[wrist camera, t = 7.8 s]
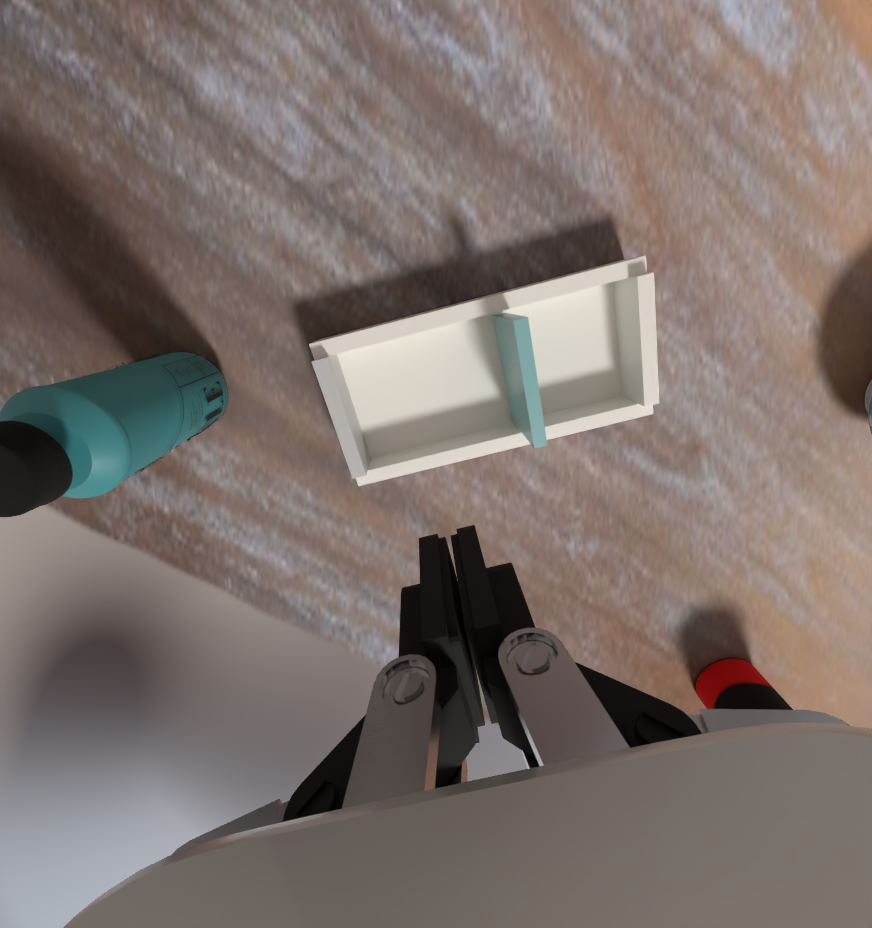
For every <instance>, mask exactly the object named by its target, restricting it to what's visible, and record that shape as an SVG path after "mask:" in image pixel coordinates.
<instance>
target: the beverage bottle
mask: <svg viewBox="0 0 872 928" xmlns="http://www.w3.org/2000/svg"><path fill="white" fill-rule="evenodd" d="M156 355H157V354H156ZM149 357H150V356H149ZM145 358H146V357H145ZM143 359H144V358H143ZM139 360H142V358H141V359H139ZM133 361H134V360H133ZM137 361H138V359H137ZM137 361H135V362H134V363H131V364H129V363H128V364H127V365H125V364H124V366H120V367H118V366H117V368H116V367H115V368H114V369H111V370H107V371H103V372H99V373H95V374H91V375H87V376H83V377H79V378H75V379H71V380H67V381H63V382H59V383H55V384H51V385H45V386H37V387H32V388H29V389H26V390H23V391H21V392H19V393H17V394H15V395H14V396H13V397H11V398H10V399H9V400H8V401H7V402H6V403H5V405H4V406H3V408H2V410H1V412H0V517H12V516H17V515H21V514H24V513H26V512H28V511H30V510H33V509H35V508H37V507H39V506H42V505H45V504H48V503H50V502H52V501H54V500H56V499H57V498H59V497H61V496H64V497H70V498H89V497H95V496H98V495H102V494H104V493H106V492H108V491H110V490H112V489H113V488H115V487H116V486H117V485H119V484H120V483H121V482H122V481H123V480H125V479H126V478H128V477H129V476H131V475H132V474H134V473H136V472H137V471H139V470H140V471H141V472H142V470H144V468H143V467H145V466H147V465H150V463H152V462H153V461H154V460H156V459H157V458H159V457H161V456H162V455H163V456H164V455H165V454H166V453H167V452H168V451H171V449H174V447H178V446H177V445H179V444H180V443H182V442H183V441H185V440H187V439H188V440H190V438H191V437H193V436H195V435H198V434H199V433H201V432H202V431H204V430H206V428H207V427H208V428H209V426H212V425H211V424H213V423H214V422H215V421H217V419H218V418H219V417H220V416H222V414H223V412H224V410H225V408H227V407H226V405H227V404H228V403H227V401H228V388H227V384H226V381H225V379H224V377H223V375H222V374H221V372H220V371H219V370H218V369H217V368H216V367H215V366H214V365H213V364H212V363H211V362H209V361H208V360H206V359H205V358H203V357H200V356H199V355H195V354H192V353H187V352H174V353H169V354H165V355H161V356H159V355H158V357H154V358H153V357H151V358H150V359H149V358H147V359H146V360H145V359H144V360H142V361H138V362H137ZM121 364H123V363H121ZM115 366H116V365H115ZM225 411H226V410H225ZM224 413H225V412H224ZM223 415H224V414H223ZM220 419H221V418H220ZM220 419H218V420H220ZM215 423H216V422H215ZM209 424H210V425H209ZM206 426H207V427H206ZM205 427H206V428H205ZM203 428H204V429H203ZM200 430H202V431H201V432H199V431H200ZM197 432H199V433H197ZM196 433H197V434H196ZM194 434H195V435H194ZM179 446H180V445H179ZM169 453H170V452H169ZM163 456H162V457H161V458H163ZM161 458H160V459H161ZM155 463H156V462H154V464H155ZM151 465H152V464H151ZM142 468H143V469H142ZM146 468H147V467H146ZM148 468H149V466H148ZM141 469H142V470H141ZM140 471H139V473H140ZM137 474H138V473H137ZM132 476H133V475H132Z"/></svg>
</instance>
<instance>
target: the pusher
mask: <svg viewBox="0 0 872 928" xmlns="http://www.w3.org/2000/svg"><path fill="white" fill-rule="evenodd" d="M493 319H494V324H495V330H496V335H497V341H498V346H499V352H500V357H501V363H502V368H503V374H504V379H505V385H506V390H507V396H508V401H509V407H510V412H511V418H512V421H513V422H514V423H515V425H516V426H517V427H518V428H519V430H520V431H521V432H522V434H523V435H524V436H525V437H526V439H527V440H528V441H529V443H530V444H531V445H532V446H533V448H539V447H543V446H547V439H546V432H545V426H544V419H543V412H542V406H541V399H540V393H539V386H538V379H537V373H536V366H535V360H534V353H533V346H532V340H531V333H530V327H529V320H528V317H525V316H520V315H515V314H510V313H501V314H497V315H493Z"/></svg>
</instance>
